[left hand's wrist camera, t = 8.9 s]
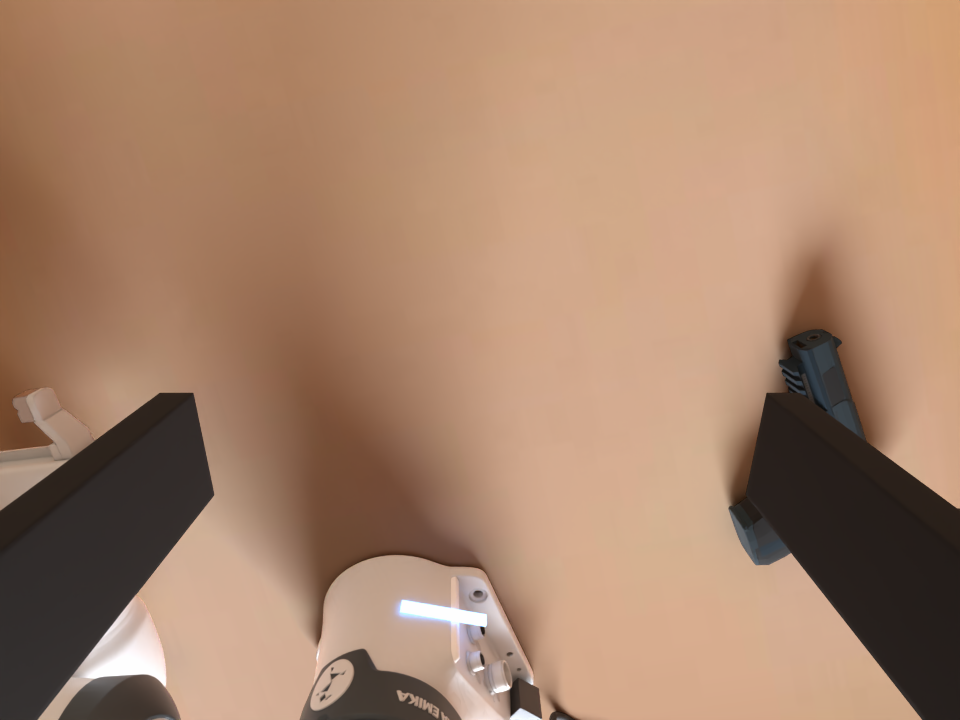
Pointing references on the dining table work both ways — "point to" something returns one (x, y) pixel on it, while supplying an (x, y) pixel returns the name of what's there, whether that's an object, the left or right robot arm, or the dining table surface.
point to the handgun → (826, 387)
